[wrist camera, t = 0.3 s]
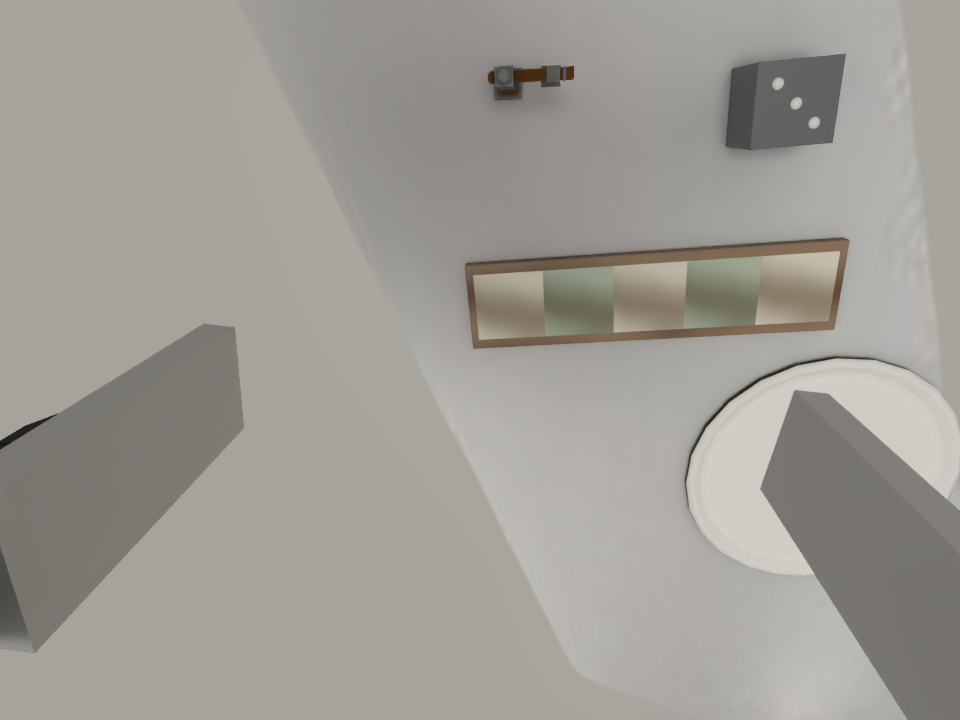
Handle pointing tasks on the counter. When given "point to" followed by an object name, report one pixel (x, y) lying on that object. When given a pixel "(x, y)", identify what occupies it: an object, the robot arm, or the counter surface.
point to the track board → (657, 294)
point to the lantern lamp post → (525, 79)
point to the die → (784, 102)
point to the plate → (755, 429)
